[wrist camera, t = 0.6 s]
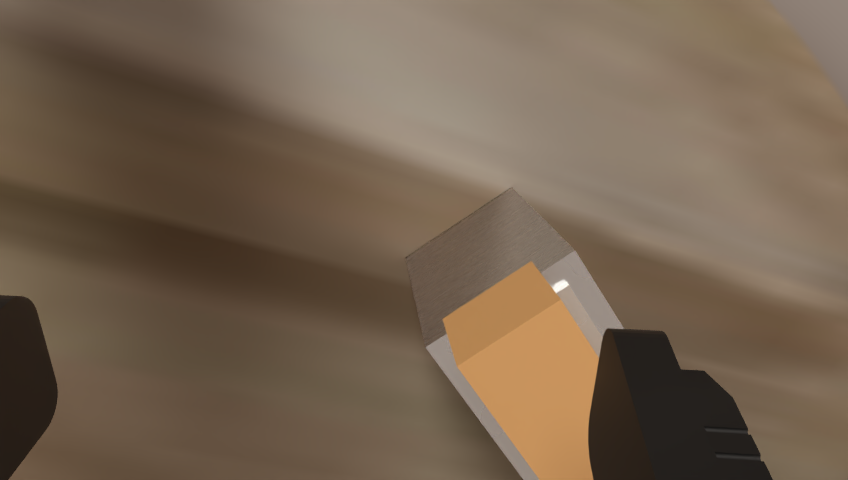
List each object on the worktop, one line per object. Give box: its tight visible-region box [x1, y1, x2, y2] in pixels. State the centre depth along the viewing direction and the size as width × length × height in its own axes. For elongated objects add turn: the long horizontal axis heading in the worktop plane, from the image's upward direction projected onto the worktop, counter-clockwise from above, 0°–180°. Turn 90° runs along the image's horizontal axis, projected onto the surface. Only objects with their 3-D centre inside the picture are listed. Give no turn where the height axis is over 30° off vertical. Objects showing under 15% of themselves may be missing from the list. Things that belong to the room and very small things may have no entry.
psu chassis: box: [406, 188, 624, 480], centre depth 31 cm, size 20×6×12 cm, turn 34°
